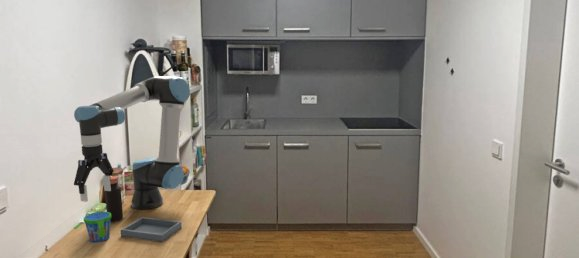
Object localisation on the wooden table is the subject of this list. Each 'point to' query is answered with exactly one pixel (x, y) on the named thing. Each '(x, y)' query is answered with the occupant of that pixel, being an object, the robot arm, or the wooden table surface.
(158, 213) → the wooden table surface
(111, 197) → the bottle
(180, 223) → the tray
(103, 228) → the snack cup
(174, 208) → the wooden table surface
